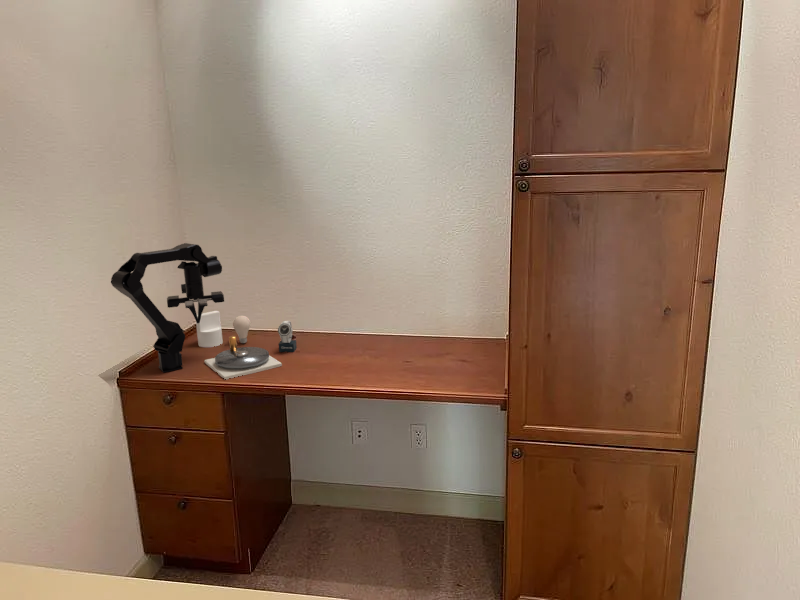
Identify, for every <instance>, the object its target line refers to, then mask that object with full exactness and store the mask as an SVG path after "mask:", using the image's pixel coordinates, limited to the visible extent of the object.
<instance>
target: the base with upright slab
mask: <svg viewBox="0 0 800 600" xmlns="http://www.w3.org/2000/svg"><path fill="white" fill-rule="evenodd" d="M196 314H197V318H198V313H196ZM195 325H196V326H195V327H196V335H197V343H198V346H199V347H200V348H213V347H214V346H215V347H217V346H221V345H222V344H223V343H224V341H223V332H222V331H223V330H222V323H221V312H220V311H219V310H213V311H207V312H202V315H201V319H200V323H197V322H196V321H195ZM220 344H221V345H220Z"/></svg>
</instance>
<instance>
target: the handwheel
mask: <svg viewBox="0 0 800 600" xmlns="http://www.w3.org/2000/svg"><path fill="white" fill-rule="evenodd" d="M228 341H229V349H226V350H223V351H221V352H219V353H218V354H216V355H215V357H214V358H215V364H216V365H217V366H219V367H222V368H227V369H243V368H249V367H254V366H257V365H260V364H263V363H265V362H266V361H267V360H268V359H269V355H270V353H269V351H268V350H267V349H266V348H264V347H263V348H262V347H259V346H257V347H256V346H241V347H238V343H237V336H236V335H230V336H228Z"/></svg>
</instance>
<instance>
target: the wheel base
mask: <svg viewBox="0 0 800 600" xmlns="http://www.w3.org/2000/svg"><path fill="white" fill-rule="evenodd" d="M204 364H206V366H208V367H209V368H211V370H213V371H214V372H215V373H216V372H217V373H218V374H217V373H216V374H217V375H218V376H220V377H221V378H222V379H223V378H224V379H223V380H225V379H226V380H230V379H229V378H231V379H234V377H235V378H238V376H239V377H243V376H246V375H251V374H255V373H259V372H263V371H267V370H271V369H275V368H280V367H282V366H283V364H282V362H281V361H279V360H277V359H276V358H274V356H273V357H272V356H271V355H270V354H269V359H268V360H267V361H266V362H265V363H263V364H260V365H257V366H254V367H249V368H243V369H227V368H222V367H219V366H217V365H216V364H215V357H214V358H213V357H211V358H207V359H204ZM242 375H243V376H242Z"/></svg>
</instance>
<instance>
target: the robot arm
mask: <svg viewBox="0 0 800 600" xmlns="http://www.w3.org/2000/svg"><path fill="white" fill-rule="evenodd" d="M175 261H180V263H179V264H178V266H177V269H180V270H183V276H184V283H182V284H180V289H181V294H185V295H186V296H185V297H179V295H178V294H177V295H170V296H167V297H166V302H167V308H169V309H170V308H177V307H179V305H180V304H184V306H185V309H189V311H190V312H191V314H192V316H193V317H194V319H195V323H196V322H197V323H200V319H201V315H202V313H204V309H205V307H208V306H209V305H208V304H209V303H208V301H212V302H213V303H215V304H216V303H224V302H225V295H224V293H223V292H222V291H221V290H220V291H218V290H217V291H211V292H210V294H206V295H204V294H205V293H204V284H203V278H208V277H212V276H213V277H214V276H217V275H220V274H221V273H222V271H223V266H222V264H221V262H220V260H219V259H218V256H216V255H210V256H209V257H207V255H206V254H205V253H204V252H203V249H202V247H201V246H200V245H199V244H195V243H187V242H185V243H181V244H178V245H176V246H174V247H172V248H168V249H161V250H152V251H146V252H135V253H134V254H132V255H131V257H130V258H129V259H128V260H127V261H125V262H124V263H123V264H122V265H121V266H120V267H119V268H118V269H117V271H115V272H114V273H113V274H112V276H111V278H110V284H111V285H112V287H113V288H114V289H116V290H117V291H118V292H119V293H121V294H122V295H124V296H126V297H128V298H129V299H130V301H132V303H133V304H134V305H135V306H136V307H137V308H138V309H139V311H140V312H141V313H142V315H144V317H145V318H146V319H147V320H148V321H149V323H151V325H152V326H153V327H154V328H155V334H156V335H157V339H156V341H155V342H154V344H153V349H154V350H155V351H156V352H157V354H158V355H157V356H158V361H159V362H158V363H159V365H158V368H159V370H161V372H162V373H168V372H172V371H177V370H182V369H183V367H184V366H183V357H182V352H183V348H184V342H185V340H186V334H185V330H184V329H183V328H182V327H181V326H180V324H179V323H178V322H177V321H176V322H175V321H171V320H169V319H167V318H166V317H165V315H164V314H162V312H161V311H160V309H158V307H157V306H156V305H155V304H154V302H153V301H152V300H151V299H150V297H149V296H148V295H147V294H146V293H145V291H144V287H143V286H144V285H143V283H142V281H141V280H142V279H143V278H144V276H145V273H146V268H147V267H148V266H149V265H156V264H161V263H169V262H175ZM195 303H197V310H196V308H195ZM197 314H198V318H197Z"/></svg>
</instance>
